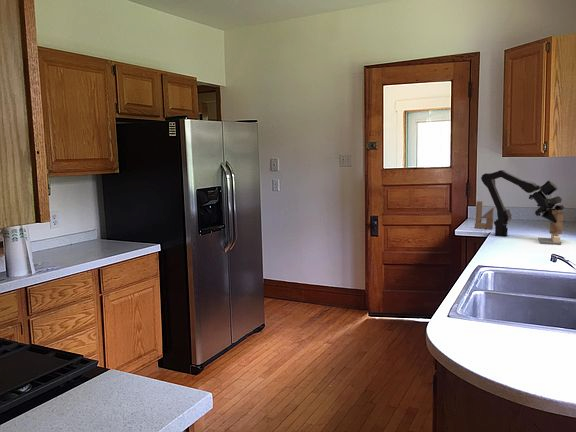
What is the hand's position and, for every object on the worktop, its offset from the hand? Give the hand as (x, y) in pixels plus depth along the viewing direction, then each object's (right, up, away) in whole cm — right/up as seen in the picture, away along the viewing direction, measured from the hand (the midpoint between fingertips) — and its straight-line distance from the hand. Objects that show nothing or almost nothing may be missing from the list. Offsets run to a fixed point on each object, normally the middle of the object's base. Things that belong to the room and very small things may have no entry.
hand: (558, 222), depth 276 cm
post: (-1, -6, +2) cm, 7 cm away
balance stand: (-3, -11, +4) cm, 12 cm away
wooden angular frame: (-21, -5, +53) cm, 57 cm away
